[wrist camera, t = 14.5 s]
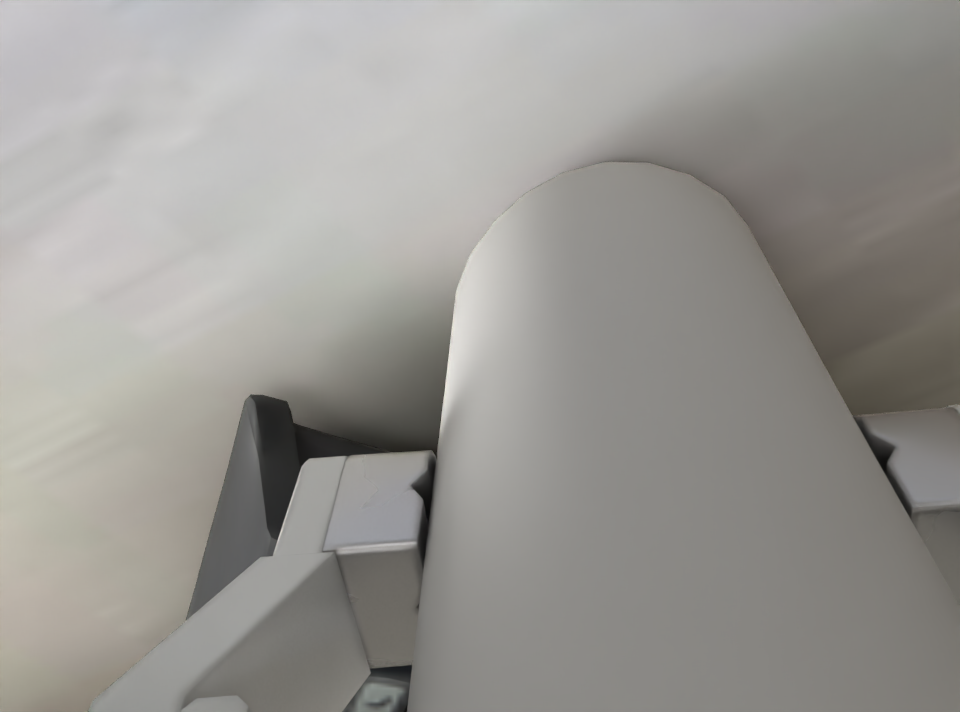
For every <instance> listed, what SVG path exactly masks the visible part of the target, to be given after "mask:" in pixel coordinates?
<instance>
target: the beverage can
mask: <svg viewBox="0 0 960 712" xmlns="http://www.w3.org/2000/svg"><path fill="white" fill-rule="evenodd" d="M407 712H960V605H959V603H958V602H957V600H956V598H955V596H954V595H953V593H952V591H951V589H950V588H949V586H948V584H947V582H946V581H945V579H944V577H943V575H942V573H941V572H940V570H939V568H938V566H937V565H936V563H935V561H934V559H933V558H932V556H931V554H930V552H929V551H928V549H927V547H926V545H925V544H924V542H923V540H922V538H921V537H920V535H919V533H918V531H917V530H916V528H915V526H914V524H913V523H912V521H911V519H910V517H909V516H908V514H907V512H906V510H905V508H904V507H903V505H902V503H901V501H900V500H899V498H898V496H897V494H896V493H895V491H894V489H893V487H892V486H891V484H890V482H889V480H888V479H887V477H886V475H885V473H884V472H883V470H882V468H881V466H880V465H879V463H878V461H877V459H876V457H875V456H874V454H873V452H872V450H871V448H870V447H869V445H868V443H867V441H866V439H865V438H864V436H863V434H862V432H861V430H860V429H859V427H858V425H857V423H856V422H855V420H854V418H853V416H852V414H851V413H850V411H849V409H848V407H847V405H846V404H845V402H844V400H843V398H842V396H841V395H840V393H839V391H838V389H837V387H836V386H835V384H834V382H833V380H832V378H831V377H830V375H829V373H828V371H827V369H826V367H825V366H824V364H823V362H822V360H821V358H820V356H819V355H818V353H817V351H816V349H815V347H814V346H813V344H812V342H811V340H810V338H809V336H808V335H807V333H806V331H805V329H804V327H803V325H802V324H801V322H800V320H799V318H798V316H797V314H796V313H795V311H794V309H793V307H792V305H791V304H790V302H789V300H788V298H787V296H786V294H785V293H784V291H783V289H782V287H781V285H780V283H779V282H778V280H777V278H776V276H775V274H774V272H773V271H772V269H771V267H770V265H769V263H768V262H767V260H766V258H765V256H764V254H763V252H762V251H761V249H760V247H759V245H758V243H757V241H756V240H755V238H754V236H753V234H752V232H751V231H750V229H749V227H748V225H747V224H746V223H745V221H744V220H743V219H742V218H741V216H740V215H739V214H738V213H737V211H736V210H735V209H734V207H733V206H732V205H731V204H730V202H729V201H728V200H727V199H726V197H725V196H723V195H722V194H720V193H718V192H717V191H715V190H714V189H712V188H710V187H709V186H707V185H706V184H704V183H703V182H701V181H699V180H698V179H696V178H695V177H693V176H691V175H689V174H686V173H683V172H679V171H676V170H672V169H669V168H665V167H662V166H658V165H655V164H652V163H648V162H603V163H598V164H594V165H590V166H586V167H582V168H578V169H574V170H570V171H566V172H563V173H561V174H559V175H557V176H556V177H554V178H552V179H550V180H548V181H546V182H545V183H543V184H541V185H539V186H537V187H535V188H534V189H532V190H530V191H528V192H526V193H525V194H524V195H523V196H522V197H521V198H520V199H519V200H517V201H516V202H515V203H514V204H513V205H512V206H511V207H510V208H508V209H507V210H506V211H505V212H504V213H503V214H502V215H501V216H499V217H498V218H497V219H496V220H495V221H494V222H493V224H492V225H491V226H490V228H489V229H488V230H487V232H486V233H485V235H484V236H483V237H482V239H481V240H480V241H479V243H478V244H477V246H476V247H475V248H474V250H473V251H472V252H471V254H470V256H469V258H468V261H467V263H466V266H465V269H464V271H463V274H462V276H461V279H460V281H459V284H458V287H457V289H456V297H455V305H454V314H453V323H452V332H451V341H450V349H449V358H448V367H447V375H446V384H445V393H444V401H443V409H442V418H441V426H440V434H439V442H438V451H437V459H436V467H435V476H434V484H433V492H432V501H431V509H430V517H429V526H428V534H427V543H426V551H425V560H424V568H423V577H422V586H421V594H420V603H419V611H418V620H417V629H416V637H415V646H414V655H413V663H412V672H411V681H410V689H409V698H408V707H407Z"/></svg>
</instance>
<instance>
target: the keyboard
mask: <svg viewBox="0 0 960 712" xmlns="http://www.w3.org/2000/svg"><path fill="white" fill-rule="evenodd" d="M379 453H391V452H387V451H384V450H381V449H378V448H374V447H371V446H368V445H364V444H361V443H357V442H353V441H350V440H346V439H343V438H339V437H336V436H333V435H329V434H326V433H323V432H319V431H316V430H313V429H310V428H306V427H303V426H300V425H297V424H295V423H293V421H292V415H291V411H290V408H289V405H288V403H287V401H283V400H279V399H276V398H272V397H268V396H264V395H250V396H249V397H248V398H247V400H246V401H245V403H244V407H243V410H242V414H241V418H240V422H239V426H238V430H237V434H236V438H235V442H234V446H233V449H232V453H231V457H230V461H229V465H228V469H227V473H226V477H225V480H224V484H223V487H222V491H221V494H220V498H219V502H218V505H217V509H216V512H215V516H214V519H213V523H212V527H211V530H210V534H209V537H208V541H207V545H206V548H205V552H204V556H203V560H202V563H201V567H200V571H199V574H198V578H197V582H196V585H195V589H194V593H193V596H192V600H191V603H190V607H189V611H188V614H187V618H186V620H187V619H189V618H190V617H191V616H192V615H193V614H194V613H196V612H197V611H198V610H199V609H200V608H201V607H203V606H204V605H205V604H206V603H207V602H209V601H210V600H211V599H212V598H213V597H214V596H216V595H217V594H218V593H219V592H220V591H221V590H223V589H224V588H225V587H226V586H227V585H228V584H230V583H231V582H232V581H233V580H234V579H235V578H237V577H238V576H239V575H240V574H241V573H242V572H244V571H245V570H246V569H247V568H248V567H249V566H251V565H252V564H253V563H254V562H255V561H256V560H258V559H259V558H260V557H269V556H273V553H274V550H275V547H276V544H277V541H278V538H279V535H280V532H281V528H282V525H283V522H284V519H285V516H286V513H287V510H288V507H289V504H290V501H291V498H292V494H293V491H294V488H295V485H296V482H297V479H298V476H299V473H300V470H301V467H302V465H303V464H304V463H305V462H306V461H307V460H308V459H311V458H324V457H338V456H348V457H349V456H350V455H363V454H379ZM370 672H371V674H370V675H369V676H368V678H367V679H366V680H365V682H364V683H363V684H362V686H361V687H360V688H359V690H358V691H357V692H356V694H355V695H354V696H353V698H352V699H351V700H350V702H349V703H348V704H347V706H346V707H345V709H344V710H343V711H342V712H407V707H408V698H409V689H410V681H411V672H412V665H406V666H394V667H383V668H371V669H370Z"/></svg>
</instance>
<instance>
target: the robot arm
mask: <svg viewBox="0 0 960 712" xmlns="http://www.w3.org/2000/svg"><path fill="white" fill-rule="evenodd" d="M853 418H854V420H855V422H856V423H857V425H858V427H859V429H860V430H861V432H862V434H863V436H864V438H865V439H866V441H867V443H868V445H869V447H870V448H871V450H872V452H873V454H874V456H875V457H876V459H877V461H878V463H879V465H880V466H881V468H882V470H883V472H884V473H885V475H886V477H887V479H888V480H889V482H890V484H891V486H892V487H893V489H894V491H895V493H896V494H897V496H898V498H899V500H900V501H901V503H902V505H903V507H904V508H905V510H906V512H907V514H908V516H909V517H910V519H911V521H912V523H913V524H914V526H915V528H916V530H917V531H918V533H919V535H920V537H921V538H922V540H923V542H924V544H925V545H926V547H927V549H928V551H929V552H930V554H931V556H932V558H933V559H934V561H935V563H936V565H937V566H938V568H939V570H940V572H941V573H942V575H943V577H944V579H945V581H946V582H947V584H948V586H949V588H950V589H951V591H952V593H953V595H954V596H955V598H956V600H957V602H958V603H959V605H960V405H950V406H947V407H946V408H934V409H922V410H911V411H899V412H888V413H877V414H865V415H854V416H853ZM435 467H436V456H435V454H434V453H433V452H432V450H428V451H412V452H396V453H379V454H363V455H350V456H349V457H348V456H338V457H324V458H311V459H308V460H307V461H306V462H305V463H304V464H303V465H302V467H301V470H300V473H299V476H298V479H297V482H296V485H295V488H294V491H293V494H292V498H291V501H290V504H289V507H288V510H287V513H286V516H285V519H284V522H283V525H282V528H281V532H280V535H279V538H278V541H277V544H276V547H275V550H274V553H273V556H269V557H260V558H259V559H258V560H256V561H255V562H254V563H253V564H252V565H251V566H249V567H248V568H247V569H246V570H245V571H244V572H242V573H241V574H240V575H239V576H238V577H237V578H235V579H234V580H233V581H232V582H231V583H230V584H228V585H227V586H226V587H225V588H224V589H223V590H221V591H220V592H219V593H218V594H217V595H216V596H214V597H213V598H212V599H211V600H210V601H209V602H207V603H206V604H205V605H204V606H203V607H201V608H200V609H199V610H198V611H197V612H196V613H194V614H193V615H192V616H191V617H190V618H189V619H187V620H186V621H185V622H184V623H183V624H182V625H180V626H179V627H178V628H177V629H176V630H175V631H173V632H172V633H171V634H170V635H169V636H168V637H166V638H165V639H164V640H163V641H162V642H161V643H159V644H158V645H157V646H156V647H155V648H154V649H152V650H151V651H150V652H149V653H148V654H146V655H145V656H144V657H143V658H142V659H141V660H139V661H138V662H137V663H136V664H135V665H134V666H132V667H131V668H130V669H129V670H128V671H127V672H125V673H124V674H123V675H122V676H121V677H120V678H118V679H117V680H116V681H115V682H114V683H113V684H111V685H110V686H109V687H108V688H107V689H106V690H104V691H103V692H102V693H101V694H100V695H99V696H97V697H96V698H95V699H94V700H93V702H92V704H91V706H90V708H89V710H88V712H342V711H343V710H344V709H345V707H346V706H347V704H348V703H349V702H350V700H351V699H352V698H353V696H354V695H355V694H356V692H357V691H358V690H359V688H360V687H361V686H362V684H363V683H364V682H365V680H366V679H367V678H368V676H369V675H370V674H371V672H370V669H371V668H383V667H394V666H406V665H412V663H413V655H414V646H415V637H416V629H417V620H418V611H419V603H420V594H421V586H422V577H423V568H424V560H425V551H426V543H427V534H428V526H429V517H430V509H431V501H432V492H433V484H434V476H435Z"/></svg>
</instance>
